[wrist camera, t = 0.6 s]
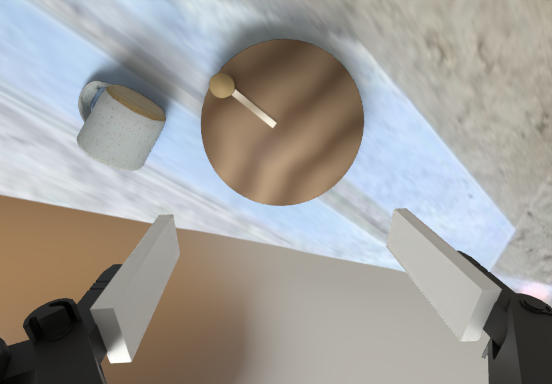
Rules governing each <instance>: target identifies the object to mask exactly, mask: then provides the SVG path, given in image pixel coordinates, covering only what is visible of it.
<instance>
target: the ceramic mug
mask: <svg viewBox="0 0 552 384" xmlns="http://www.w3.org/2000/svg"><path fill="white" fill-rule="evenodd" d="M102 87H106V89H105V90H104V91H103V92H102V93H101V94H100V96H99V98H98V100H97V102H96V104H95V106H94V108H93V110H92V112H91V102H92V99H93V98H94V96H95V95H96V93H97V92H98V91H99V89H100V88H102ZM78 107H79V112H80V115H81V117H82V119H83V121H84V122H85V123H84V125H83V127H82V129H81V131H80V132H79V134H78V136H77V143H78V145H79V147H80V148H81V149H82V150H83V151H84V152H85V153H86V154H88V155H89V156H91V157H92V158H94V159H95V160H97V161H99V162H101V163H103V164H106V165H108V166H110V167H113V168H116V169H121V170H129V171H132V170H138V169H140V168H141V167H142V166H143V165H144V163H145V161H146V159H147V157H148V155H149V154H150V152H151V150H152V148H153V146H154V144H155V142H156V140H157V139H158V137H159V135H160V133H161V132H162V130H163V127H164V124H165V121H166V116H165V114H164V112H163V110H162V109H161V108H160V107H159V106H158V105H156V104H155V103H154V102H152V101H151V100H149V99H148V98H146V97H145V96H143V95H141V94H140V93H138V92H136V91H134V90H132V89H129V88H127V87H124V86H121V85H116V84H114V85H110V84H108V83H105V82H102V81H92V82H90V83H88V84H87V85H86V86H85V87H84V88H83V90H82V91H81V94H80V96H79V102H78Z"/></svg>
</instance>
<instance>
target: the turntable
mask: <svg viewBox="0 0 552 384" xmlns="http://www.w3.org/2000/svg"><path fill="white" fill-rule="evenodd" d="M209 86H210V87H209V89H208V92H207V94H206V97H205V100H204V104H203V108H202V115H201V134H202V140H203V145H204V148H205V152H206V154H207V157H208V159H209V161H210V163H211V165H212V166H213V168H214V170H215V171H216V173H217V174H218V175H219V177H220V178H221V179H222V180H223V181H224V182H225V183H226V184H227V185H228V186H229V187H230V188H232V189H233V190H234V191H236V192H237V193H239V194H240V195H242V196H244V197H246V198H248V199H250V200H252V201H255V202H259V203H262V204H267V205H276V206H285V205H294V204H300V203H303V202H306V201H309V200H312V199H314V198H316V197H318V196H320V195H322V194H323V193H325V192H327V191H328V190H329V189H331V188H332V187H333V186H334V185H335V184H336V183H337V182H339V181H340V180H341V179H342V177H343V176H344V175H345V174H346V172H347V171H348V170H349V168H350V167H351V165H352V163H353V162H354V159H355V157H356V155H357V153H358V150H359V147H360V145H361V140H362V136H363V127H364V113H363V106H362V101H361V98H360V94H359V91H358V89H357V87H356V84H355V82H354V80H353V79H352V77H351V76H350V74H349V72H348V71H347V70H346V69H345V67H344V66H343V65H342V64H341V63H340V62H339V61H338V60H337V59H336V58H335V57H333V56H332V55H331V54H329V53H328V52H326V51H325V50H323V49H321V48H319V47H317V46H315V45H313V44H310V43H307V42H303V41H299V40H290V39H277V40H270V41H265V42H261V43H258V44H256V45H253V46H250V47H249V48H247V49H245V50H243V51H241V52H240V53H238V54H237V55H235V56H234V57H233V58H231V59H230V60H229V61H228V62H227V63H226V64H225V65H224V66H223V67H222V68H221V70H220V71H219V72H218V74H215V75H214V76H213V77H212V78H211V80H210V83H209Z"/></svg>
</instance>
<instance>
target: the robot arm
mask: <svg viewBox="0 0 552 384" xmlns="http://www.w3.org/2000/svg"><path fill="white" fill-rule="evenodd" d="M386 247H387V248H388V250H389V251H390V252H391V253H392V255H393V256H394V257H395V258H396V260H397V261H398V262H399V264H400V265H401V266H402V267H403V269H404V270H405V271H406V272H407V274H408V275H409V276H410V277H411V279H412V280H413V281H414V282H415V284H416V285H417V286H418V288H419V289H420V290H421V291H422V293H423V294H424V295H425V297H426V298H427V299H428V300H429V302H430V303H431V304H432V306H433V307H434V308H435V309H436V311H437V312H438V313H439V315H440V316H441V317H442V318H443V320H444V321H445V322H446V323H447V325H448V326H449V327H450V329H451V330H452V331H453V332H454V334H455V335H456V336H457V337H458V339H459V340H460V341H461V342H462V341H477V340H479V338H480V336H481V334H482V331H483V330H484V331H485V332H486V333H487V334H488V335H489V336H490V337H491V338H490V340H489V342H488V344H487V346H486V348H485V350H484V352H483V355H482V358H486V356H487V355H488V370H489V371H488V372H489V384H552V308H551V307H550V306H549V305H548V304H546V303H544V302H543V301H541V300H539V299H537V298H535V297H532V296H530V295H526V294H521V293H515V292H514V291H512V290H511V289H510V288H509V287H507V286H506V285H505V284H504V283H503V282H501V281H500V280H499V279H498V278H496V277H495V276H494V275H493V274H492V273H490V272H488V270H487V269H485V268H484V267H483V266H481V265H480V264H479V263H478V262H477V261H476V260H474V259H473V258H472V257H470V256H468V255H467V254H465V253H463V252H461V251H456V250H455V249H454V248H453V247H451V246H450V245H449V244H448V243H447V242H445V241H444V240H443V239H442V238H441V237H440V236H438V235H437V234H436V233H435V232H434V231H432V230H431V229H430V228H429V227H428V226H427V225H425V224H424V223H423V222H422V221H421V220H419V219H418V218H417V217H416V216H415V215H414V214H412V213H411V212H410V211H409V210H408V209H406V208H404V209H394V212H393V217H392V222H391V226H390V231H389V236H388V241H387V245H386ZM179 255H180V251H179V246H178V240H177V234H176V228H175V222H174V217H173V215H159V216H158V218H157V219H156V220H155V222H154V223H153V224H152V226H151V227H150V228H149V230H148V231H147V233H146V234H145V235H144V237H143V238H142V239H141V241H140V242H139V243H138V245H137V246H136V248H135V249H134V250H133V252H132V253H131V254H130V256H129V257H128V258H127V260H126V261H125V262H124V264H115V265H112V266H111V267H110V268H108V269H107V270H105V271H104V272H103V273H102V274H101V275H100V277H99V278H98V279H97V280H96V283H94V284H93V285H92V286H91V288H90V290H88V291H87V292H86V294H85V295H84V296H83V297H82V299H81V300H80V301H79V302H78V304H77V305H76V303H75V302H74V301H73V299H68V298H63V299H57V300H54V301H51V302H48V303H46V304H44V305H42V306H40V307H39V308H37V309H36V310H34V311H33V312H32V313H31V314H30V315H29V316H28V317H27V318H26V319H25V321H24V324H23V328H24V329H25V331H26V333H27V335H28V337H29V339H30V340H27V341H23V342H20V343H16V344H13V345H9V346H7V345H6V343H5V341H4V340H3V339H1V338H0V384H107V381H106V378H105V376H104V372H103V369H102V367H101V362H102V360H103V358H104V357H105V355H106V353H107V355H108V358H109V360H110V363H121V362H132V359H133V357H134V355H135V353H136V351H137V348H138V346H139V344H140V342H141V339H142V337H143V335H144V333H145V331H146V328H147V326H148V324H149V322H150V320H151V317H152V315H153V313H154V311H155V308H156V306H157V304H158V302H159V299H160V297H161V295H162V293H163V290H164V288H165V286H166V284H167V282H168V279H169V277H170V275H171V273H172V271H173V268H174V266H175V264H176V262H177V260H178V257H179Z"/></svg>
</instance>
